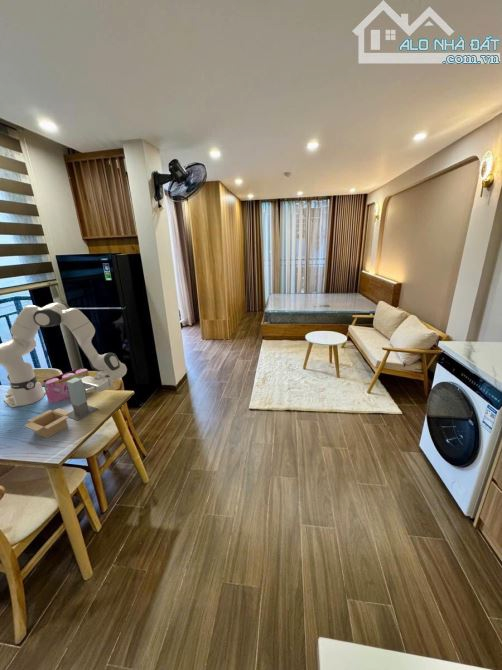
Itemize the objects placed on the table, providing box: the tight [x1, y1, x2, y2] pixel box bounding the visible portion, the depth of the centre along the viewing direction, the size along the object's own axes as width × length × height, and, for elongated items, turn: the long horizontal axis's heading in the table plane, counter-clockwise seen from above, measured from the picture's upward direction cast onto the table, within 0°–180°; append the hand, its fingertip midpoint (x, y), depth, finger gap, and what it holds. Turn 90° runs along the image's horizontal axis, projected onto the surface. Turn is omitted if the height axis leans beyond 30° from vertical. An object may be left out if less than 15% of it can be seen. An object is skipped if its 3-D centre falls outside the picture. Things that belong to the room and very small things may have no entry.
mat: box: [66, 404, 100, 422], centre depth 145 cm, size 12×12×1 cm
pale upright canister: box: [66, 378, 89, 415], centre depth 142 cm, size 5×5×20 cm
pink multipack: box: [42, 367, 90, 405], centre depth 163 cm, size 24×8×14 cm, turn 145°
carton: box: [23, 407, 71, 439], centre depth 130 cm, size 16×16×7 cm
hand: (79, 390), depth 142 cm, fingers open, 8 cm apart
